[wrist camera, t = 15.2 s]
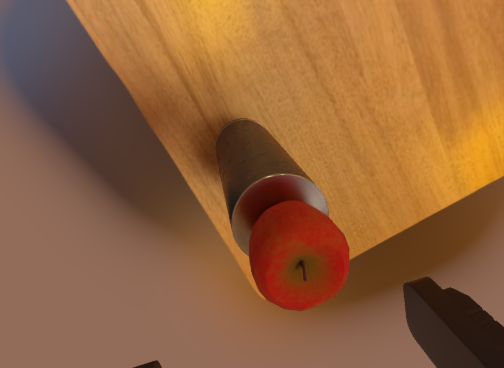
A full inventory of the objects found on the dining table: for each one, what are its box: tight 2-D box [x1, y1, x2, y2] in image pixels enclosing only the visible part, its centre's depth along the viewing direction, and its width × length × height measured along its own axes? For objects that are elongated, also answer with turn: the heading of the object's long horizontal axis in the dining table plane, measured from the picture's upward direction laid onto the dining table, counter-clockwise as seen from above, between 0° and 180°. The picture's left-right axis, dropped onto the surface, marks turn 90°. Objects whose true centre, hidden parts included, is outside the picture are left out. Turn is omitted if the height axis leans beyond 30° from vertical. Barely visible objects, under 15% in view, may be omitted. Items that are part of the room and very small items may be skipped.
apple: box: [249, 201, 349, 311], centre depth 25 cm, size 6×6×8 cm
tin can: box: [214, 119, 329, 256], centre depth 38 cm, size 8×8×22 cm
